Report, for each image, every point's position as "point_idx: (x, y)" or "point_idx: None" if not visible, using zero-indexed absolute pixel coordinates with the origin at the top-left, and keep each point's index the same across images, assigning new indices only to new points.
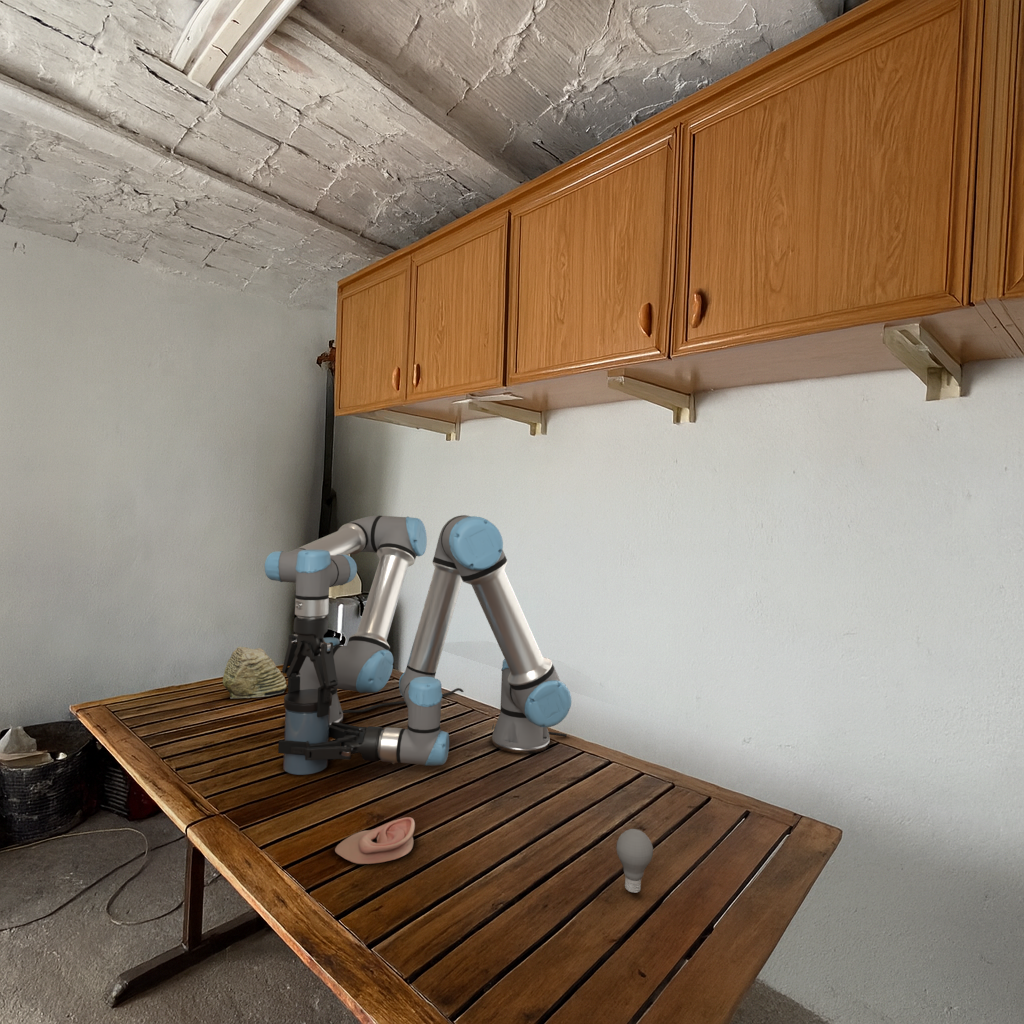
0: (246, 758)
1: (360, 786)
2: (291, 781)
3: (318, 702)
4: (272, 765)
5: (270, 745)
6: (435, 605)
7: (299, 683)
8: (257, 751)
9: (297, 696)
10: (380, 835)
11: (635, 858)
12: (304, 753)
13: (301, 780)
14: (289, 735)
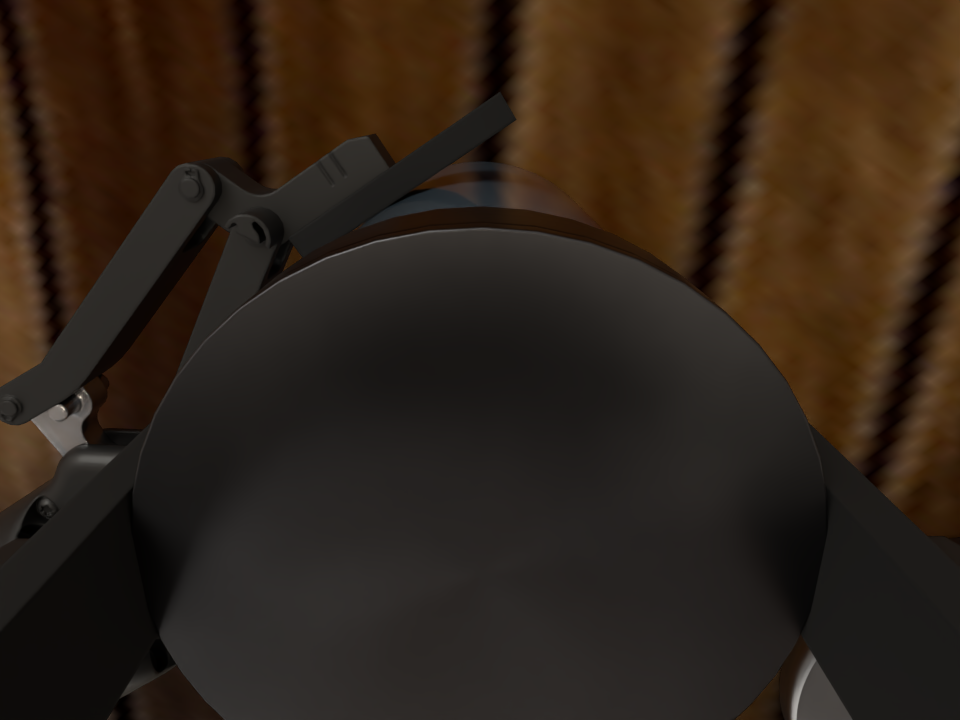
0: (869, 105)
1: (32, 334)
2: (348, 103)
3: (97, 499)
4: (639, 160)
5: (901, 328)
6: None
7: (858, 716)
8: (897, 220)
9: (576, 460)
10: None
11: None
12: (274, 189)
13: (318, 155)
14: (464, 188)
